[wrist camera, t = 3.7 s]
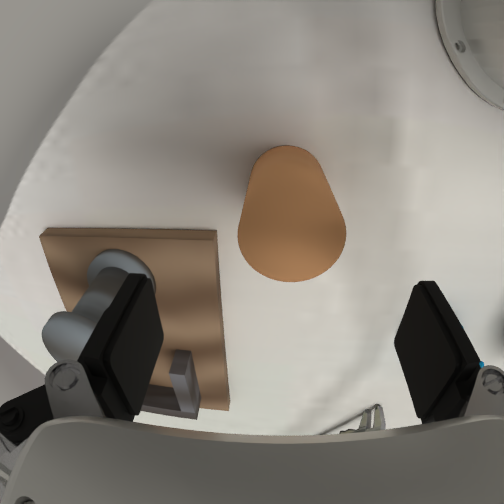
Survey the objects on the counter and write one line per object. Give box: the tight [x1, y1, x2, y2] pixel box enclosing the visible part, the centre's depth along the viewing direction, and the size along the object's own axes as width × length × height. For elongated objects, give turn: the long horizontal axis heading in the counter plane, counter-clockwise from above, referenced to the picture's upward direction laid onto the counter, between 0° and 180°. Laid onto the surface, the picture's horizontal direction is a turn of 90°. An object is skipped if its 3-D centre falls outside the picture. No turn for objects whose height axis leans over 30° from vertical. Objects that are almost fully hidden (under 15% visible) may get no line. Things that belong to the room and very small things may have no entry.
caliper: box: [339, 405, 386, 434], centre depth 37 cm, size 20×1×6 cm, turn 143°
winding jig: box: [39, 228, 230, 420], centre depth 26 cm, size 23×16×10 cm
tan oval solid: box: [238, 146, 346, 282], centre depth 18 cm, size 5×5×8 cm
